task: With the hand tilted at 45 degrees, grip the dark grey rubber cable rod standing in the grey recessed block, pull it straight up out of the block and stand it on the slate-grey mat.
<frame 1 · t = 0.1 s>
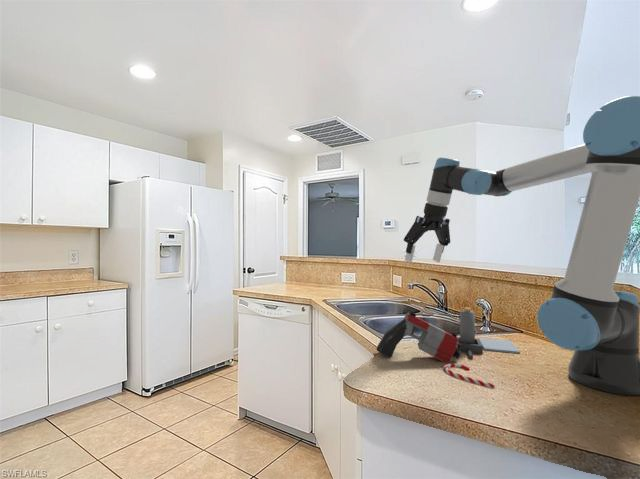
hand: (422, 261, 119), 28 cm above the worktop, tool tilted 20°, fingers open, 13 cm apart
toy gun: (417, 358, 99), on the worktop
grey recessed block: (467, 348, 107), on the worktop
slate mat: (497, 346, 110), on the worktop
cable rod: (467, 328, 107), in the grey recessed block
candy cane: (469, 378, 85), on the worktop
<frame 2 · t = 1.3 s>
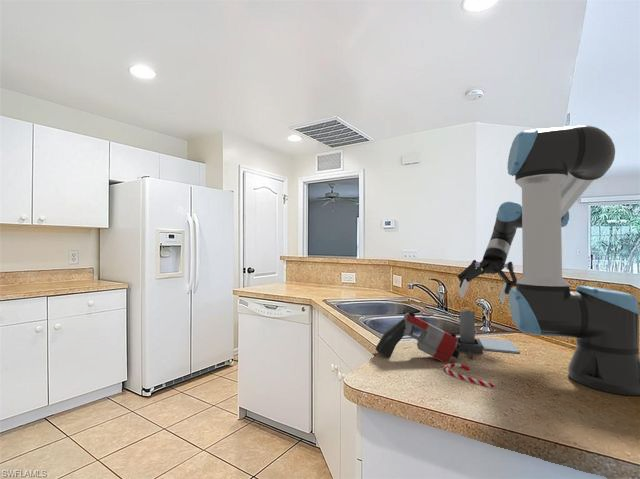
hand: (480, 297, 114), 15 cm above the worktop, tool tilted 45°, fingers open, 13 cm apart
nothing on the worktop moved.
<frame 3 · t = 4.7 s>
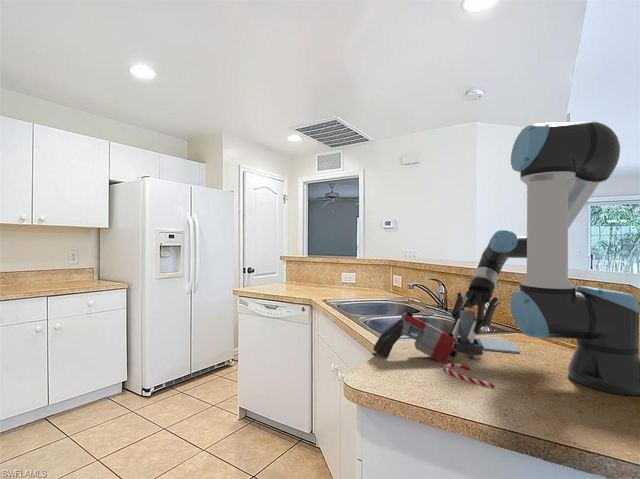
hand: (462, 338, 105), 4 cm above the worktop, tool tilted 45°, fingers closed on cable rod, 4 cm apart
cable rod: (467, 328, 107), in the grey recessed block, touching gripper
when the fingers open (5 cm above the worktop, at t = 9.3 s): cable rod stays where it is, resting on slate mat.
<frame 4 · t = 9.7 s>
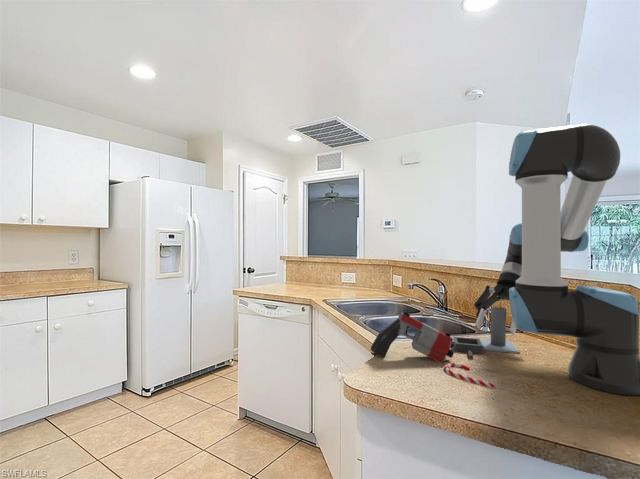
hand: (494, 329, 108), 6 cm above the worktop, tool tilted 45°, fingers open, 10 cm apart
cable rod: (498, 324, 110), on the slate mat, point 7 cm above the worktop
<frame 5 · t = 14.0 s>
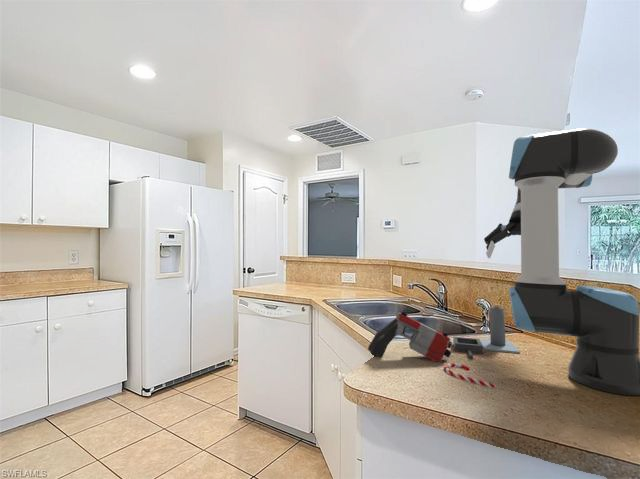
hand: (508, 256, 117), 30 cm above the worktop, tool tilted 45°, fingers open, 13 cm apart
at the end: cable rod inside the target area on the slate mat (0.1 cm from its centre), point 7.3 cm above the slate mat's base; cable rod touching slate mat; the gripper is holding nothing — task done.
